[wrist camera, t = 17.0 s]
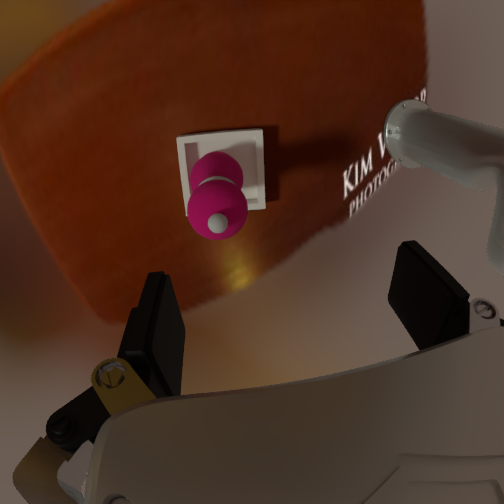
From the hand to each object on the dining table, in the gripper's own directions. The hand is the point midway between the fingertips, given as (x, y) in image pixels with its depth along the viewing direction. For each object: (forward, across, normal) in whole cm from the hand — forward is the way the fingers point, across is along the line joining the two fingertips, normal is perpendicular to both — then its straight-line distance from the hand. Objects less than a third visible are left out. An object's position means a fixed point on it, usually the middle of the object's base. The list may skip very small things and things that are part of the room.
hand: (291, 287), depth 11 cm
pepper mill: (+34, +4, +4) cm, 35 cm away
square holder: (+35, +3, +4) cm, 35 cm away
